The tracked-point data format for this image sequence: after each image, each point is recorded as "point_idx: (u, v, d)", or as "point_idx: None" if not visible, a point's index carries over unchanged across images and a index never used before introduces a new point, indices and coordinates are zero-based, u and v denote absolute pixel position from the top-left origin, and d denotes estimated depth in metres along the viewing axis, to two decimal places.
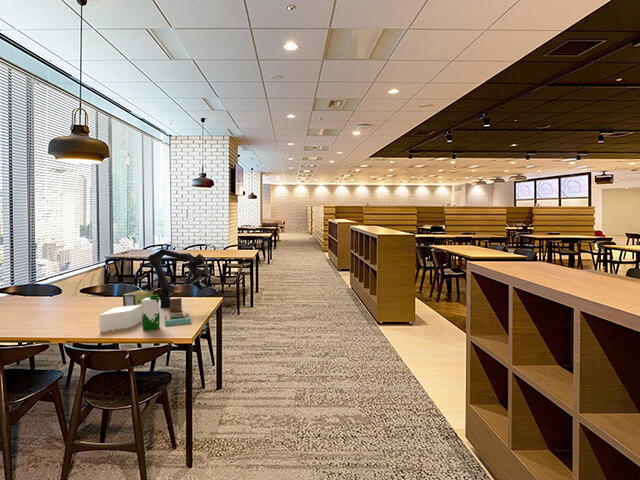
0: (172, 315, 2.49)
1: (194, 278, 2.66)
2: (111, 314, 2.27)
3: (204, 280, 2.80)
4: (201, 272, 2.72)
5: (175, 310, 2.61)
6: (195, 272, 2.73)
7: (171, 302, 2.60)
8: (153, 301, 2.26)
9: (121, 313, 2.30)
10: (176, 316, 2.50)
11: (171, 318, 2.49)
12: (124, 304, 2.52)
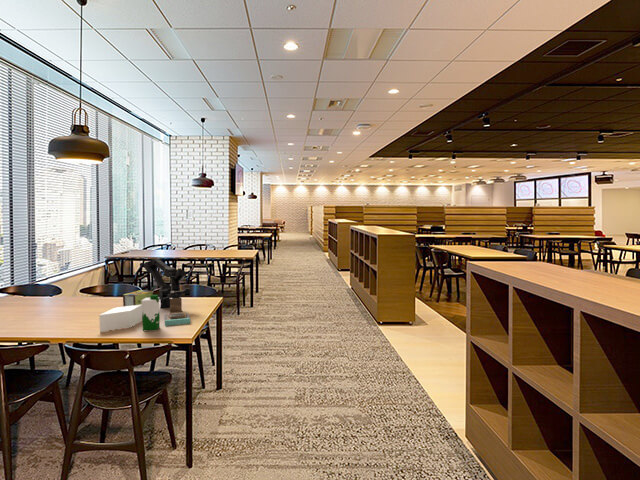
0: (172, 315, 2.49)
1: None
2: (111, 314, 2.27)
3: None
4: None
5: (175, 310, 2.61)
6: None
7: (171, 302, 2.60)
8: (153, 301, 2.26)
9: (121, 313, 2.30)
10: (176, 316, 2.50)
11: (171, 318, 2.49)
12: (124, 304, 2.52)
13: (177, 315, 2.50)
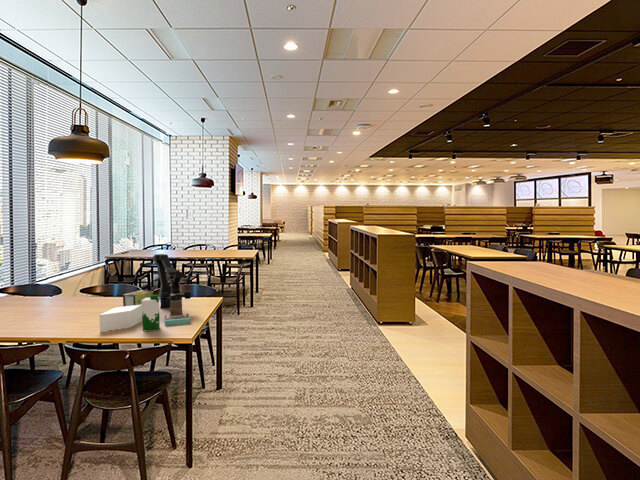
0: (171, 318, 2.42)
1: None
2: (111, 314, 2.27)
3: None
4: None
5: (175, 313, 2.54)
6: None
7: (171, 304, 2.53)
8: (153, 301, 2.26)
9: (121, 313, 2.30)
10: None
11: None
12: (124, 304, 2.52)
13: (176, 318, 2.43)
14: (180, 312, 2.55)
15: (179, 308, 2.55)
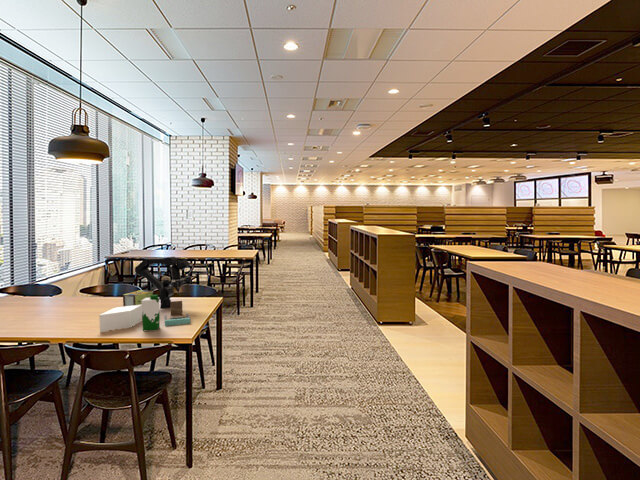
0: (171, 318, 2.41)
1: None
2: (111, 314, 2.27)
3: (176, 285, 2.72)
4: None
5: (176, 313, 2.54)
6: None
7: (172, 305, 2.53)
8: (153, 301, 2.26)
9: (121, 313, 2.30)
10: None
11: None
12: (124, 304, 2.52)
13: None
14: (180, 312, 2.55)
15: (179, 308, 2.54)
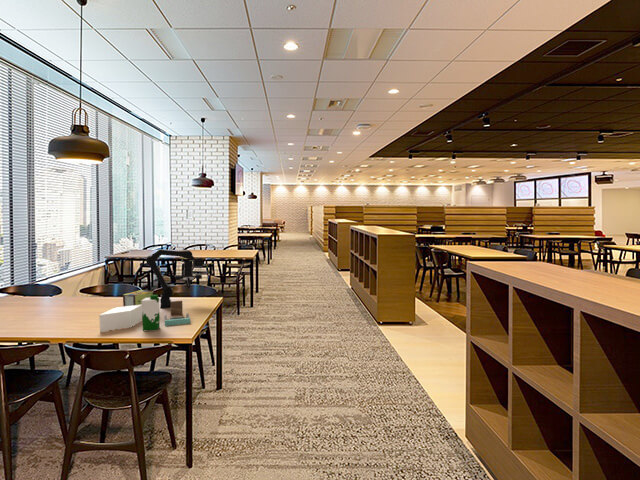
0: (171, 318, 2.41)
1: None
2: (111, 314, 2.27)
3: (187, 281, 2.87)
4: None
5: (176, 313, 2.54)
6: None
7: (172, 305, 2.53)
8: (153, 301, 2.26)
9: (121, 313, 2.30)
10: None
11: None
12: (124, 304, 2.52)
13: None
14: (180, 312, 2.55)
15: (179, 308, 2.55)
